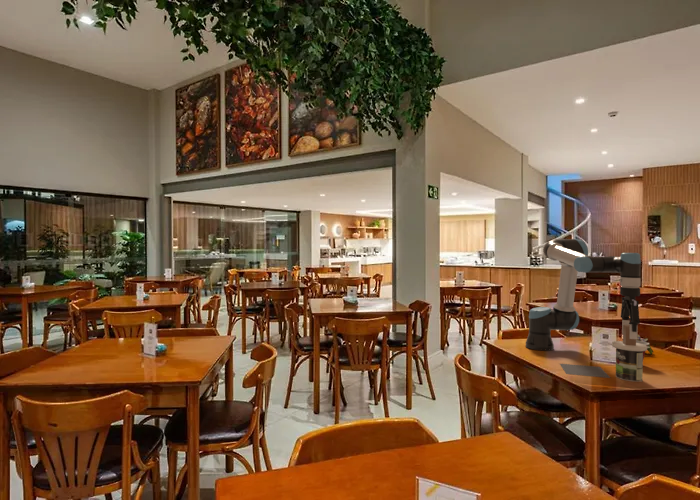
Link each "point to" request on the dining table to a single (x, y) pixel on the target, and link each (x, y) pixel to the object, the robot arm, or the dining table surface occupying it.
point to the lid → (628, 342)
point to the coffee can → (629, 365)
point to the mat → (584, 370)
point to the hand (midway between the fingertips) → (629, 336)
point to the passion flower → (646, 342)
